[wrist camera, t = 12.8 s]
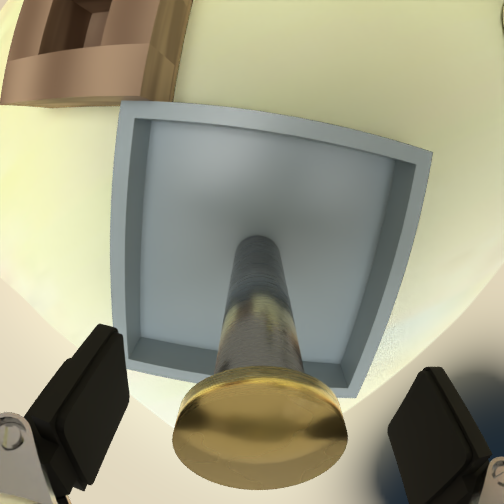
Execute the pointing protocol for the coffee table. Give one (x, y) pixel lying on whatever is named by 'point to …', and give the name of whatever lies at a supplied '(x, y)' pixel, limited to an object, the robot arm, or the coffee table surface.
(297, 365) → the pin
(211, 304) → the tray
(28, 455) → the robot arm
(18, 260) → the coffee table surface
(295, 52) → the coffee table surface
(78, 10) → the holder block
